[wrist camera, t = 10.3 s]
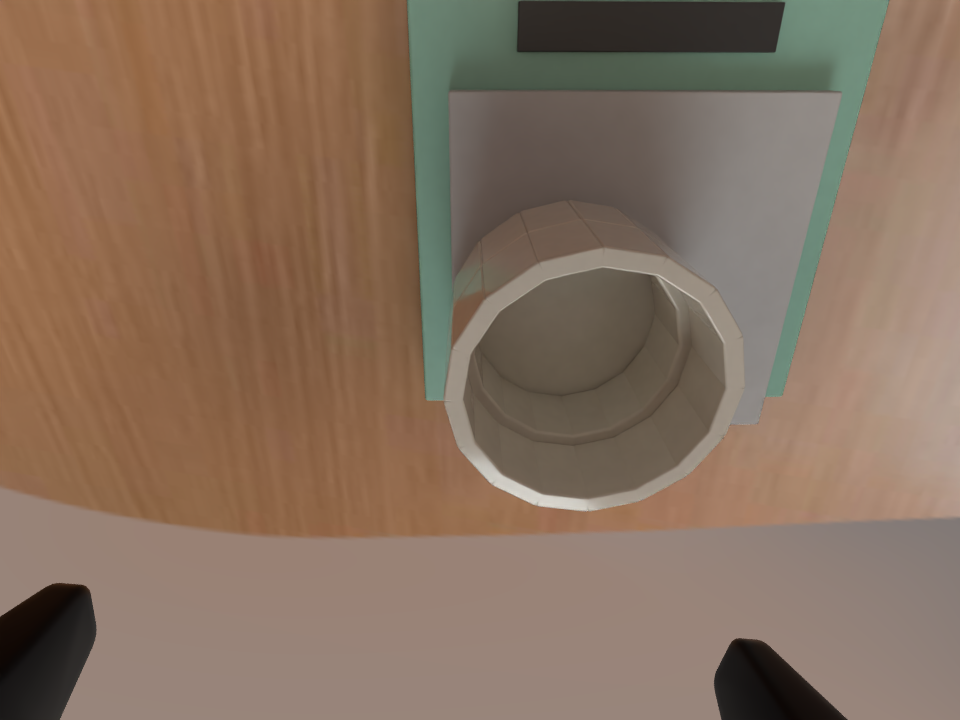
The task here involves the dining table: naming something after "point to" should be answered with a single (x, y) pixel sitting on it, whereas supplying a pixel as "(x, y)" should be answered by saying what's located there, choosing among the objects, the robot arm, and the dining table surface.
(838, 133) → the kitchen scale
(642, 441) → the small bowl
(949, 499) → the dining table surface
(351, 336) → the dining table surface
